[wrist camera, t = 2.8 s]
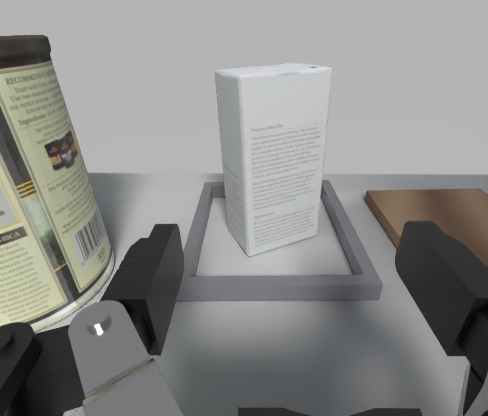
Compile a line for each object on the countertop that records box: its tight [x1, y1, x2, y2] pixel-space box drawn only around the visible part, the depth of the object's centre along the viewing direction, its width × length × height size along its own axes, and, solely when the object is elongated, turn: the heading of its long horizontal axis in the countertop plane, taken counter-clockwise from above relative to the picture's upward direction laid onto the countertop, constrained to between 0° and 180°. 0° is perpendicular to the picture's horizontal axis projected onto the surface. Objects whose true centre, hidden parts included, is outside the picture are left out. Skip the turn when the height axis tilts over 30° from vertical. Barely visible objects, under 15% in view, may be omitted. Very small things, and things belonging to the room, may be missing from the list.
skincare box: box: [215, 63, 332, 257], centre depth 21 cm, size 6×4×12 cm
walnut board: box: [365, 189, 488, 267], centre depth 23 cm, size 10×10×1 cm
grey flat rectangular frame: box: [176, 180, 383, 301], centre depth 24 cm, size 12×14×1 cm
